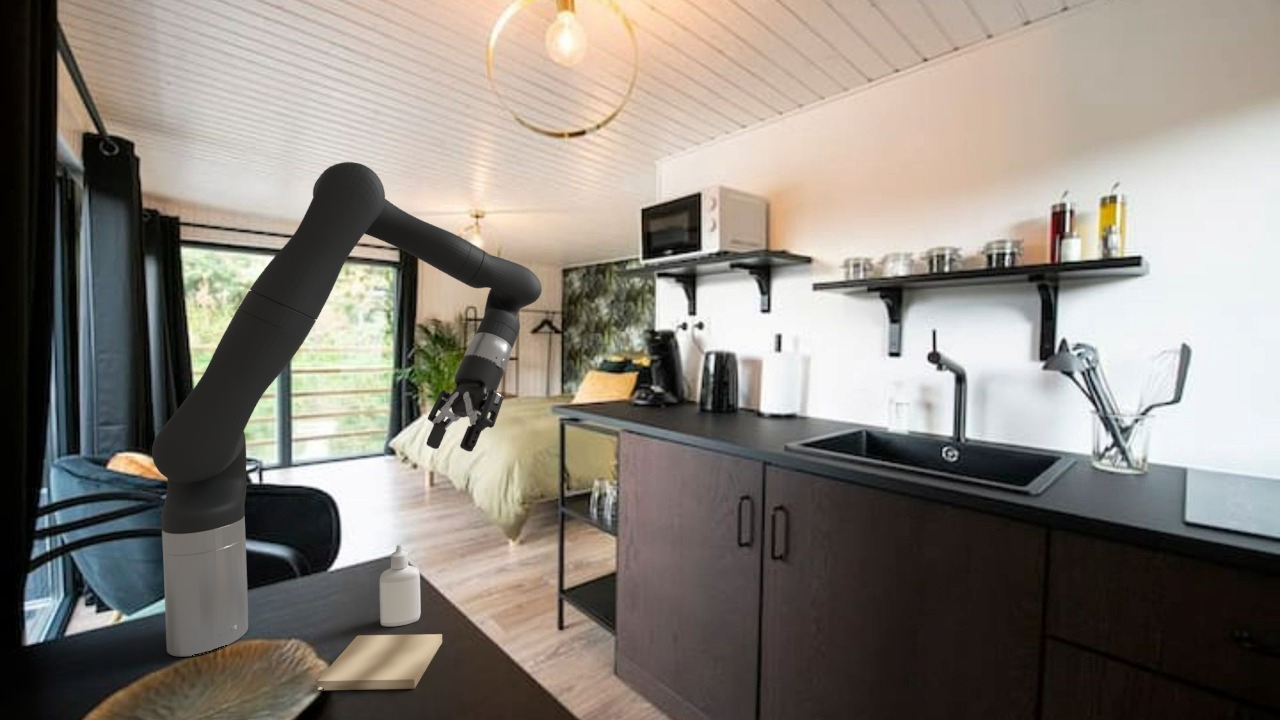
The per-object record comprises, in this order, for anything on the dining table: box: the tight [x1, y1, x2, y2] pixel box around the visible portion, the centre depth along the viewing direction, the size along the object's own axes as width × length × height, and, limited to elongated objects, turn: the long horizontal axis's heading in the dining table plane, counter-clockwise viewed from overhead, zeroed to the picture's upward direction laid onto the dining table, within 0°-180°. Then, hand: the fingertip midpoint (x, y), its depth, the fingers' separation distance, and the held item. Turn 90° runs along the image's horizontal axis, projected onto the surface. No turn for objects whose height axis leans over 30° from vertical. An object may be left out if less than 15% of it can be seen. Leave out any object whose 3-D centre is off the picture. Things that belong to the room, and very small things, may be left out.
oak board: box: [316, 633, 443, 691], centre depth 71 cm, size 12×10×1 cm
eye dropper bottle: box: [379, 543, 422, 627], centre depth 82 cm, size 4×6×12 cm
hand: (448, 448), depth 87 cm, fingers open, 8 cm apart
